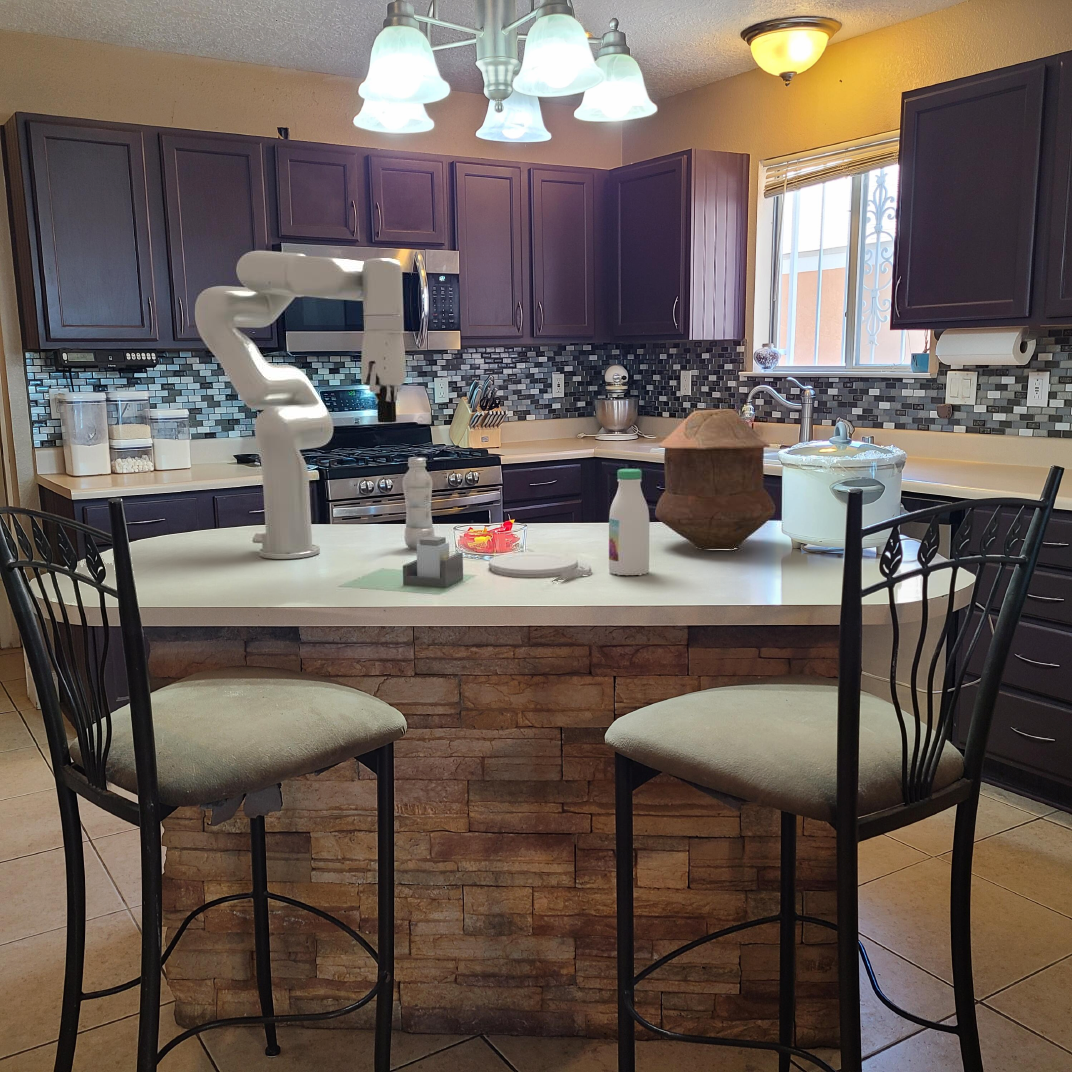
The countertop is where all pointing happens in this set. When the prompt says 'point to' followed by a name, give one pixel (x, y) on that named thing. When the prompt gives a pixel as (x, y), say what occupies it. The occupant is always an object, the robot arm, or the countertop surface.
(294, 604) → the countertop surface
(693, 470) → the pottery vessel
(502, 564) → the lid
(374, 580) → the board
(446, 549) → the plug
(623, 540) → the milk bottle
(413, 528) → the plastic bottle
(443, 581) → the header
